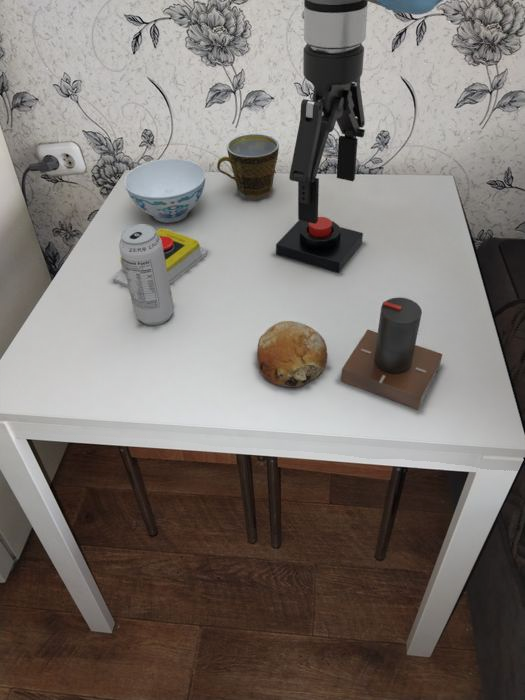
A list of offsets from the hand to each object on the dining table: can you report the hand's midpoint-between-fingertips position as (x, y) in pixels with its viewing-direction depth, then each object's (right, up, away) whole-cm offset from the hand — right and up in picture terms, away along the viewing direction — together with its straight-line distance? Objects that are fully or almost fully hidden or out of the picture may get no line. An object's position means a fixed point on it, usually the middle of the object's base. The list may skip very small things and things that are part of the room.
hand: (327, 198), depth 87 cm
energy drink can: (-27, -17, +5) cm, 32 cm away
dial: (+8, -24, -8) cm, 26 cm away
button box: (0, -5, +17) cm, 17 cm away
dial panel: (+8, -26, -6) cm, 28 cm away
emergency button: (-27, -8, +15) cm, 32 cm away
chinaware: (-28, +4, +27) cm, 39 cm away
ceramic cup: (-12, +9, +32) cm, 35 cm away
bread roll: (-6, -25, -4) cm, 26 cm away
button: (0, -2, +14) cm, 14 cm away
